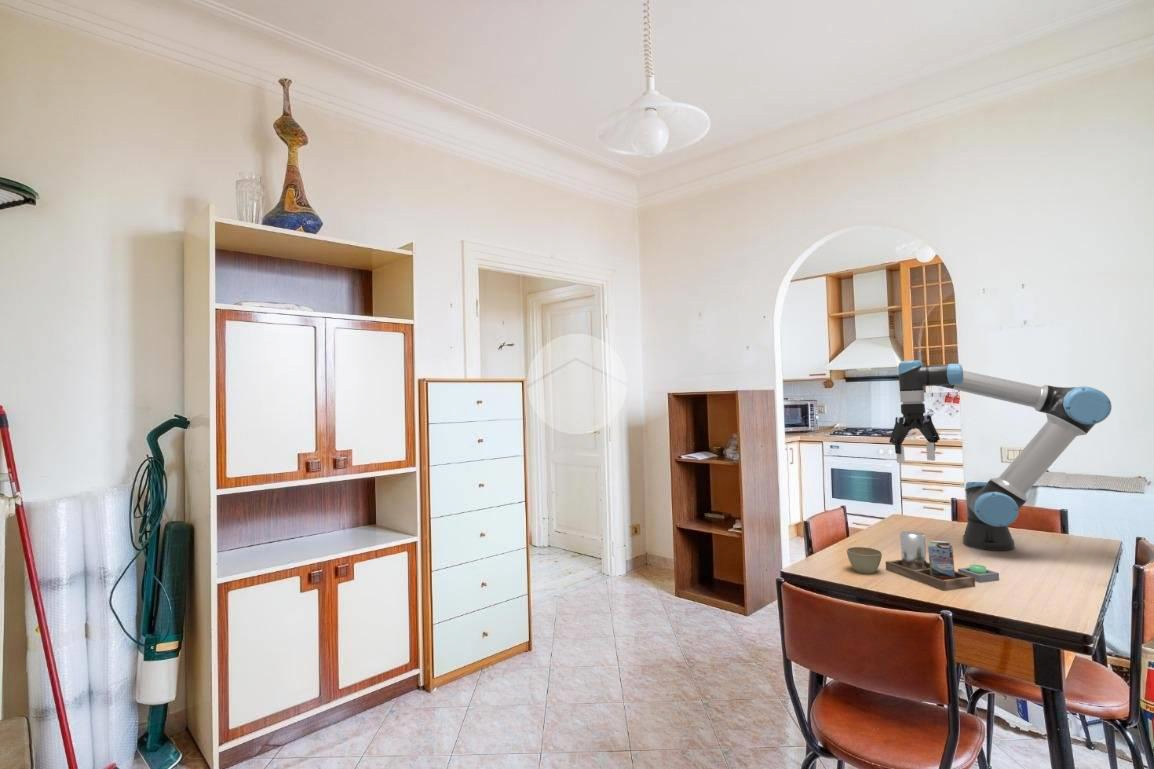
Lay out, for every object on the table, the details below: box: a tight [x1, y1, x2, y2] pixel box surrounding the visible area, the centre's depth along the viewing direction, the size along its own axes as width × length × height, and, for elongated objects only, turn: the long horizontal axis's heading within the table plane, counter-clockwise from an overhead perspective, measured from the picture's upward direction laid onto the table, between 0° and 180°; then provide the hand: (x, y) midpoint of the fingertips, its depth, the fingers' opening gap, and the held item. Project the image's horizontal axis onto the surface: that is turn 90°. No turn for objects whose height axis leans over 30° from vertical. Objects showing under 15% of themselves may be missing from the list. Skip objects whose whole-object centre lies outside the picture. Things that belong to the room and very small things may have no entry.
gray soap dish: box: [957, 566, 1000, 583], centre depth 166 cm, size 7×7×3 cm
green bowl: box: [846, 546, 883, 574], centre depth 177 cm, size 10×10×7 cm
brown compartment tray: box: [885, 559, 976, 592], centre depth 168 cm, size 11×21×4 cm, turn 13°
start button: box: [969, 564, 987, 574], centre depth 166 cm, size 4×4×3 cm
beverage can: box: [927, 540, 956, 580], centre depth 163 cm, size 6×7×12 cm
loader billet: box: [899, 530, 927, 570], centre depth 173 cm, size 7×7×12 cm
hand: (916, 461), depth 202 cm, fingers open, 13 cm apart
